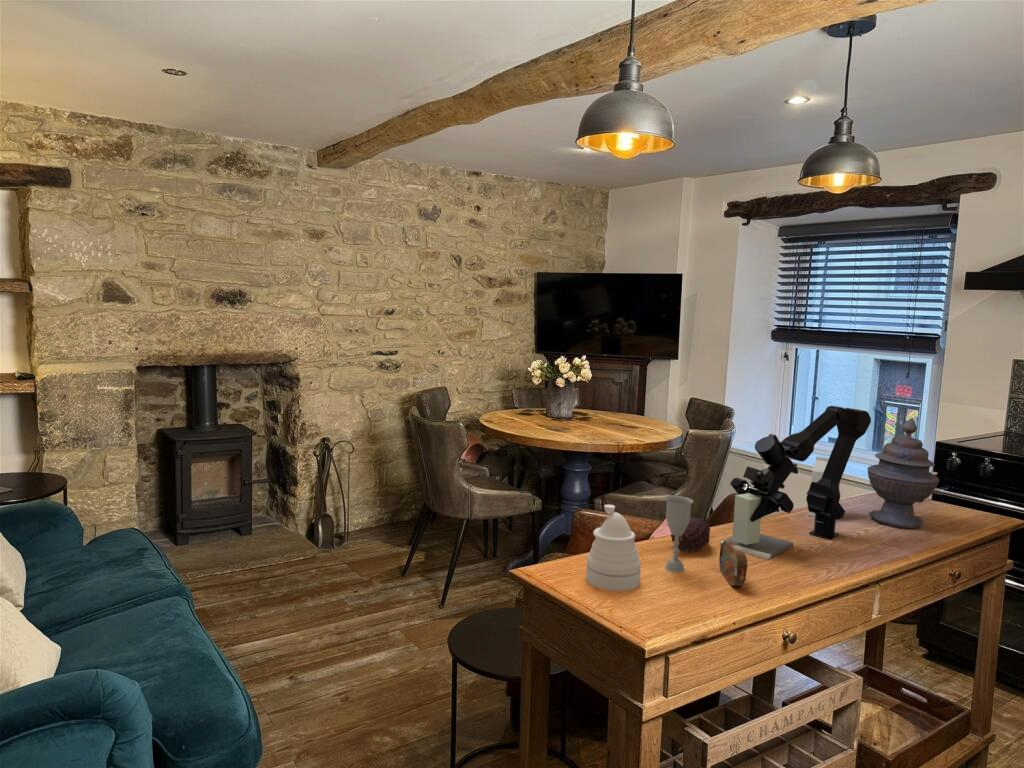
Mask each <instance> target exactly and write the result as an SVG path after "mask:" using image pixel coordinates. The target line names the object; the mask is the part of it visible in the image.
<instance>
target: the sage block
mask: <svg viewBox="0 0 1024 768" xmlns="http://www.w3.org/2000/svg"><path fill="white" fill-rule="evenodd" d="M760 503H761V497H758V496H755V495H752V494H749V493H747V494H740V495H738V494H735V495H734V508H733V509H734V511H733V523H732V526H733V527H732V536H731V537H732V539H734V540H736V541H738V542H741V543H743V544H745V545H747V544H753V543H758V542H759V539H760V534H761V524H762V523H761V522H762V518H760V519H758V520H756V521H754V522H751V520H750V518H751V516H752V515H753V513H754V512H755V510H756V509H757V507H758V506H759V504H760Z"/></svg>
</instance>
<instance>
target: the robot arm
mask: <svg viewBox="0 0 1024 768" xmlns="http://www.w3.org/2000/svg"><path fill="white" fill-rule="evenodd" d="M871 423H872V417H871V416H870V413H869V412H868V411H866V410H862V409H857V408H851V407H843V406H836V405H828V406H827V407H826V408H825V411H823V412H822V413H821V414H820V415H818V417H817V418H815V419H814V420H813V421H812V422H811V423H810V424H809V425H808V426H806V427H805V428H804V429H803V430H801V431H799V432H795V433H792V434H790V435H789V436H787V437H785V438H783V440H782V441H780V440H779V438H778V436H777V435H776V434H773V433H769V434H768V436H764V437H762V438H760V439H759V440H757V441H756V442H755V444H754V450H755V452H756V453H757V454H758V455H759V457H760V458H761V460H763V462H764V464H766V465H769V466H767V468H764V469H758V468H754V467H751V466H746V468H745V471H744V474H743V478H744V479H742V478H740V477H734V478H732V480H731V481H730V483H729V484H730V486H731V487H732V488H733V490H734V491H735V493H737V494H736V495H740V494H747V493H749V494H752V495H755V496H758V497H761V503H760V504H759V506H758V507H757V509H756V510H755V512H754V513H753V515H752V516H751V518H750V520H751V522H754V521H756V520H758V519H760V518H761V519H762V518H764V517H766V516H768V515H771V514H774V513H775V512H776V513H780V511H782V512H785V513H787V514H790V513H791V512H792V511H793V509H794V502H793V501H792V500H791V498H790V497H789V495H788V494H787V492H783V491H780V489H783V490H784V489H785V487H786V486H785V484H784V482H786V480H787V479H788V477H789V476H790V474H795V475H798V474H799V469H798V464H797V463H794V462H793V461H792V460H795V461H798V462H805V461H807V459H809V457H810V456H811V455H812V454H813V452H814V448H815V445H816V444H817V443H819V441H820V440H822V438H824V436H826V435H827V434H828V433H829V432H831V430H833V429H834V428H835V427H836V429H837V434H838V435H837V438H836V439H835V442H834V445H833V447H832V450H831V453H830V455H829V457H828V458H829V460H828V462H827V465H826V468H825V470H824V473H823V475H822V478H821V479H820V480H819V481H818V482H812V483H811V482H810V485H809V488H808V491H806V500H805V501H806V503H807V510H808V513H809V512H813V513H815V516H814V520H813V521H814V522H813V523H814V524H813V530H811V531H809V532H808V534H809V535H811V536H816V537H820V538H823V539H826V540H827V539H828V540H833V539H834V538H837V537H838V536H839V534H840V533H839V532H836V522H837V520H839V521H840V520H841V519H843V518H844V516H845V513H846V510H845V509H844V508H843V507H842V505H841V504H840V499H841V491H840V487H839V483H841V481H842V478H843V476H844V475H843V474H844V472H845V469H846V467H847V464H848V462H849V460H850V457H851V455H852V452H853V449H854V447H855V444H856V441H857V440H859V439H860V438H861V437H863V436H864V435H865V434H866V433H867V430H868V428H869V427H870V425H871ZM746 479H748V480H750V483H749V482H748V481H747V480H746ZM750 484H751V485H752V486H751V485H750Z"/></svg>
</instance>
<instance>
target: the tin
mask: <svg viewBox="0 0 1024 768" xmlns="http://www.w3.org/2000/svg"><path fill="white" fill-rule="evenodd" d="M723 541H724V540H723ZM718 555H719V558H718V561H719V562H718V563H719V570H720V573H721V574H722V576H723V577H724V579H725V580H726V582H727V583H728V584H729V586H733V587H735V586H736V587H742V586H744V585H745V583H746V578H747V569H748V559H747V556H746V553H744V552H743V551H742V550H741V549H740V548H739V546H738V545H737V544H736V543H734V542H727V541H724V542H723V543H722V545H721V546H720V550H719V554H718Z"/></svg>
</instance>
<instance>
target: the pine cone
mask: <svg viewBox="0 0 1024 768" xmlns="http://www.w3.org/2000/svg"><path fill="white" fill-rule="evenodd" d="M710 534H711V527H710V525H709V524H708V523H707V522H706V521H704V520H703V519H702V518H700V517H696V516H694V515H692V516H690V521H689V524H688V526H687V528H686V530H685V532H684V533H683V535H681V536H679V538H678V540H679V543H680V544H679V545H678V549H679V550H683V551H684V552H686V551H687V552H688V553H691V552H694V553H697V552H698V551H699V550H701V551H702V549H703V547H706V546H707V544H709V543H710V538H711V537H710ZM670 537H671V542H674V540H675V535H673V534H671V533H670Z"/></svg>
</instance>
